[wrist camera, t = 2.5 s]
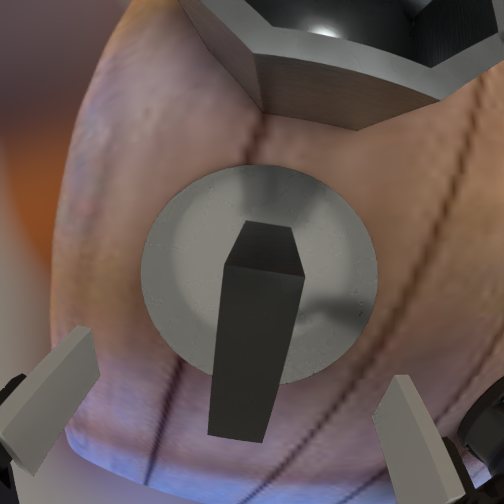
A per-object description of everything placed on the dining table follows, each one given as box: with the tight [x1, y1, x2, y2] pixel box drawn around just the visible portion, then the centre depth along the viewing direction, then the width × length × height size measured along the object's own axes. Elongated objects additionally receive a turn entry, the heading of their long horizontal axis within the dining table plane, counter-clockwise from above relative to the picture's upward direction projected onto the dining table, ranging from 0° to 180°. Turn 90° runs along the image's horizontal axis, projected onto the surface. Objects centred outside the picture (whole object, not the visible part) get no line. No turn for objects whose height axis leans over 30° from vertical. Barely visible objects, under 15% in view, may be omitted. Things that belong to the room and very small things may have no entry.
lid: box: [141, 165, 378, 443], centre depth 18 cm, size 18×18×12 cm
